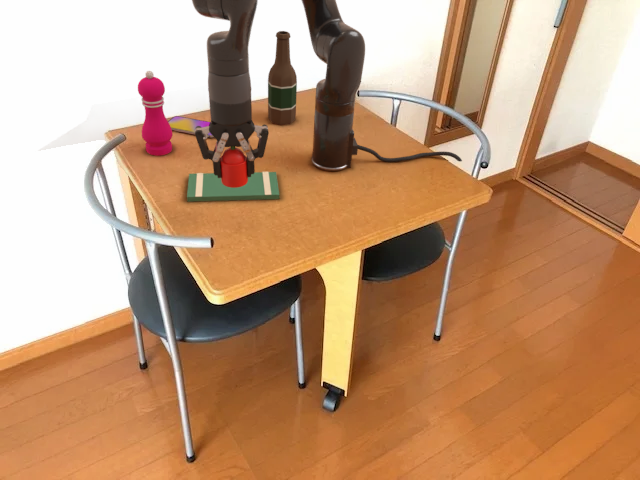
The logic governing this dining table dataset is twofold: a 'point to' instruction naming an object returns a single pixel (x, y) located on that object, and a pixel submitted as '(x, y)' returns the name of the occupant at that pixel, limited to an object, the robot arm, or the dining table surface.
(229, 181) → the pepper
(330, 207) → the dining table surface
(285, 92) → the beer bottle
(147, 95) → the pepper mill
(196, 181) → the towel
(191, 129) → the smartphone
